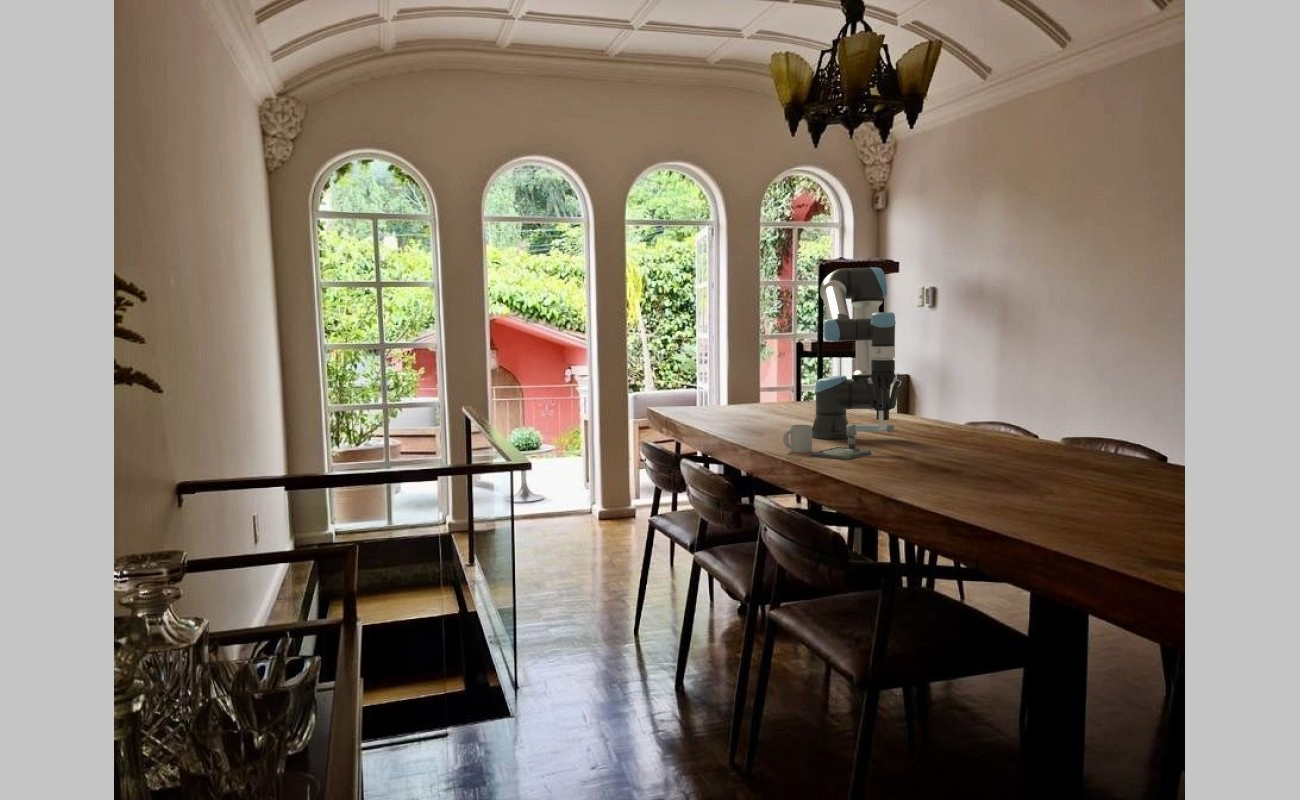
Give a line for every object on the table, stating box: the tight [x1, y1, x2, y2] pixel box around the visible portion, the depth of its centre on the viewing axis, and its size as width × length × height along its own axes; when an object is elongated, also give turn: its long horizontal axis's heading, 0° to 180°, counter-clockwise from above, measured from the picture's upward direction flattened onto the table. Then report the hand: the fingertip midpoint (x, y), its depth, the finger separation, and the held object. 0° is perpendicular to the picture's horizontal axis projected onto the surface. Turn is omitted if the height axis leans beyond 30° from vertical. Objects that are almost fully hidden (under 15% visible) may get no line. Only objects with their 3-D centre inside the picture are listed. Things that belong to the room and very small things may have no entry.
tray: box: [811, 435, 872, 461], centre depth 270 cm, size 16×13×6 cm
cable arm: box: [847, 423, 895, 437], centre depth 273 cm, size 15×3×4 cm, turn 76°
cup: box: [782, 424, 813, 454], centre depth 278 cm, size 7×10×9 cm
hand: (882, 429), depth 269 cm, fingers closed
